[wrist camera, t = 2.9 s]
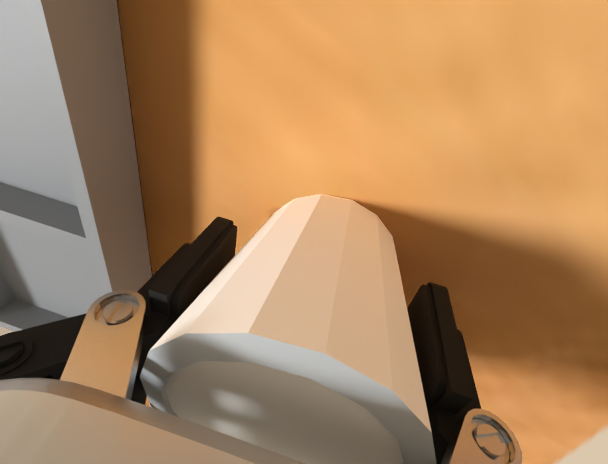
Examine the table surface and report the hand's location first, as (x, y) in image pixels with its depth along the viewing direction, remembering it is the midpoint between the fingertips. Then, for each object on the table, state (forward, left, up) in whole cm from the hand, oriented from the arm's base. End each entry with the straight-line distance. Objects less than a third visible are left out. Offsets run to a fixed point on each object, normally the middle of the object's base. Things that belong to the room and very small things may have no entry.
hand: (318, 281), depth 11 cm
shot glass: (0, 0, -2) cm, 2 cm away
